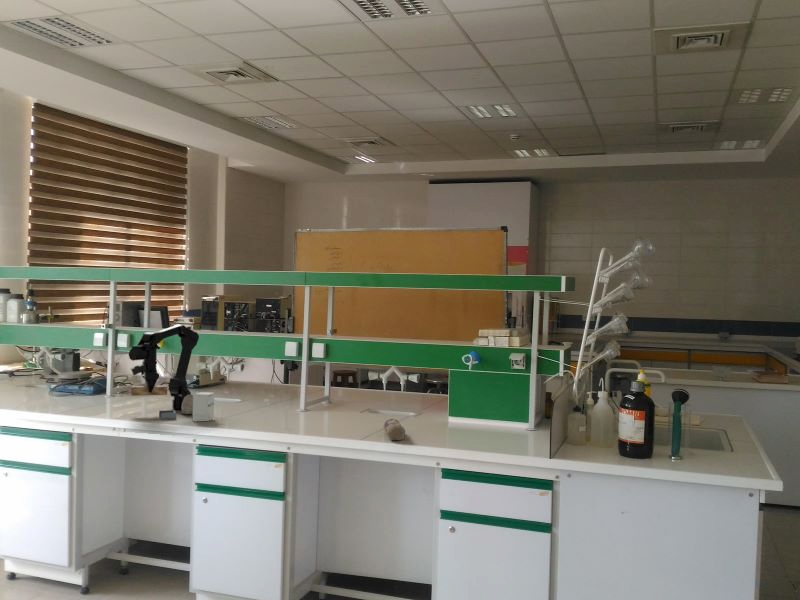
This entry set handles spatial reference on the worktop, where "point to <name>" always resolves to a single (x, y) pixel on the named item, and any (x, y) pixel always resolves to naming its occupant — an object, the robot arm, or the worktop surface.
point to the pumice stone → (187, 404)
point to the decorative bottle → (394, 429)
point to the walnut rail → (145, 391)
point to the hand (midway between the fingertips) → (149, 391)
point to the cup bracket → (167, 414)
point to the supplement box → (203, 406)
